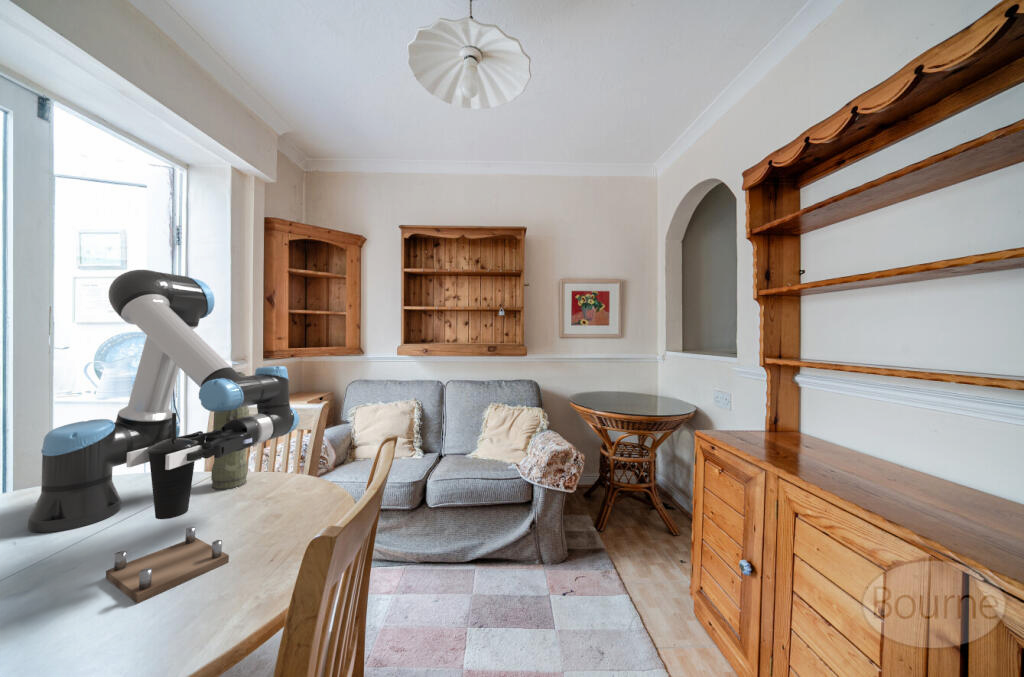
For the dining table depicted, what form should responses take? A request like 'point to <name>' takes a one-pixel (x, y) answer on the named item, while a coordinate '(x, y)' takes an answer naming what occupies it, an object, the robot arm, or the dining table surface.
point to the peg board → (165, 567)
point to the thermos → (229, 455)
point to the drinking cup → (170, 476)
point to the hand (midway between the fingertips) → (148, 461)
